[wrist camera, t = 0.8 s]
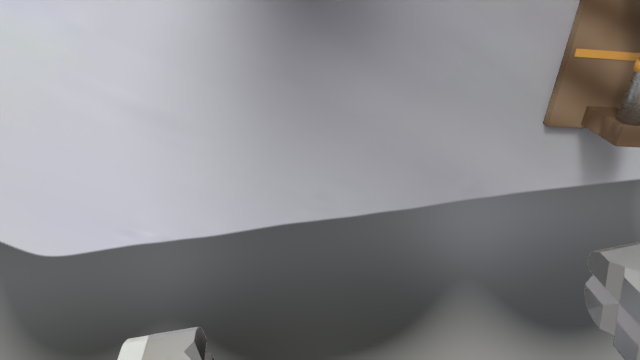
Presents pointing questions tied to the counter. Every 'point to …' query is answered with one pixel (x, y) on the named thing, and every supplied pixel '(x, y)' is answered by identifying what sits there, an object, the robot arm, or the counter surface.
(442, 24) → the counter surface
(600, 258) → the robot arm
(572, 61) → the pipe stand
